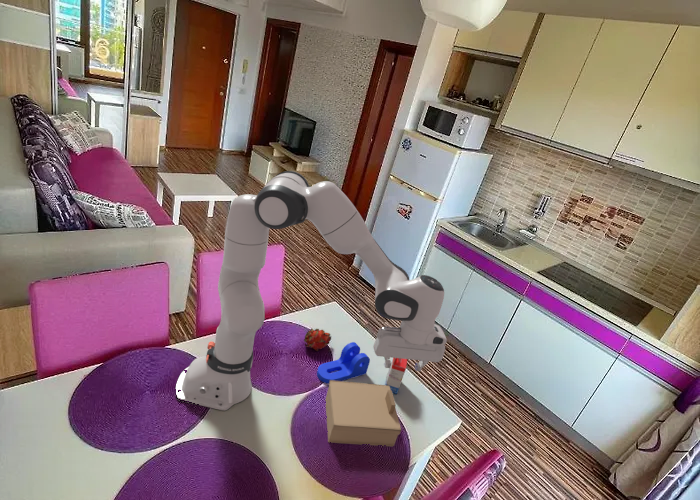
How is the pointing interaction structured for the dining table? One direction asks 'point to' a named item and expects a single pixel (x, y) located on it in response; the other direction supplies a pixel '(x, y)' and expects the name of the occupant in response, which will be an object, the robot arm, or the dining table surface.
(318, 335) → the dragon fruit
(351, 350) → the bracket
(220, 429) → the dining table surface
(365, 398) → the lid
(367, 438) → the mailer box
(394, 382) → the ink box
